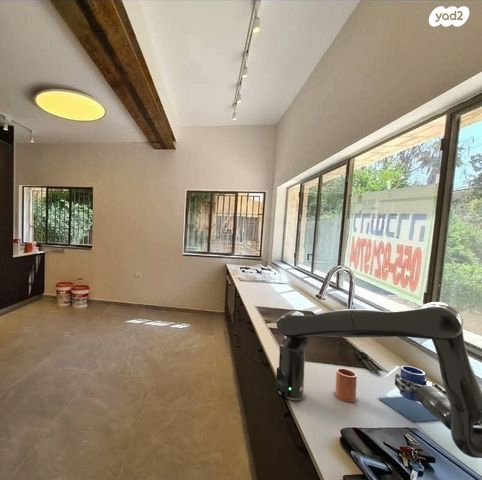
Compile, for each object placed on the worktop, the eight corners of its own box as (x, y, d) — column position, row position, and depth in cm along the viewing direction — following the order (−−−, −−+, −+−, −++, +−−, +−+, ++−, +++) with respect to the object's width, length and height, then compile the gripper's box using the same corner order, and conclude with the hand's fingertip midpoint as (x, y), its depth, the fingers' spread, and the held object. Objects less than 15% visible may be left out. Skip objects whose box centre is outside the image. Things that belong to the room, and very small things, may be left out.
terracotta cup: (344, 402, 104) (345, 377, 103) (331, 392, 110) (332, 368, 110) (359, 401, 104) (361, 376, 104) (346, 391, 111) (347, 367, 111)
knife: (381, 377, 123) (382, 374, 123) (364, 373, 126) (364, 370, 126) (367, 354, 146) (367, 352, 146) (353, 351, 148) (353, 349, 148)
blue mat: (413, 422, 93) (413, 421, 93) (378, 399, 106) (378, 398, 106) (445, 419, 95) (445, 419, 95) (407, 397, 108) (407, 396, 108)
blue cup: (413, 402, 97) (414, 375, 96) (395, 391, 103) (396, 366, 103) (428, 401, 98) (430, 374, 97) (410, 390, 104) (411, 365, 104)
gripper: (467, 396, 84) (432, 371, 100) (411, 388, 89) (386, 364, 105) (466, 420, 85) (431, 390, 100) (410, 410, 89) (385, 383, 105)
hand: (408, 377), depth 102 cm, fingers closed on blue cup, 6 cm apart
